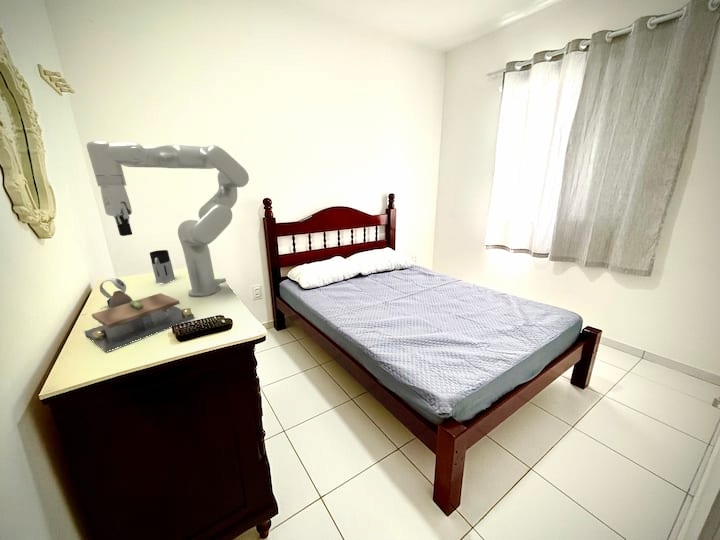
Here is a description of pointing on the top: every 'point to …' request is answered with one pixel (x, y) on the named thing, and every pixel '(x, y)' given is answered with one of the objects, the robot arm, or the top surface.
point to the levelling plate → (134, 310)
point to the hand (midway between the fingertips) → (126, 235)
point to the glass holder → (162, 266)
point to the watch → (117, 283)
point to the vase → (119, 299)
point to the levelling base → (138, 327)
